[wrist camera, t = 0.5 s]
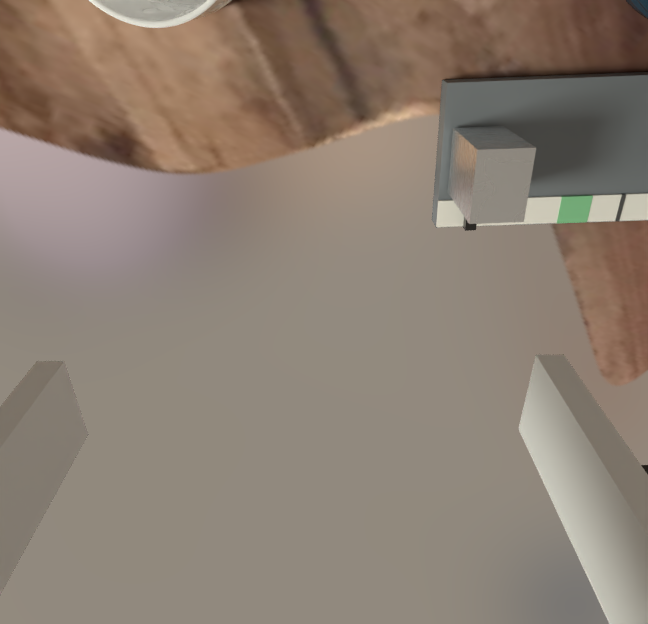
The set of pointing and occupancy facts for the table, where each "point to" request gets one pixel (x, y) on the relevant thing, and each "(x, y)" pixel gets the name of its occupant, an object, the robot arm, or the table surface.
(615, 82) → the gauge base
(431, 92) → the table surface
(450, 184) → the block
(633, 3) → the canister
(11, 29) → the table surface
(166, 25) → the white cup
